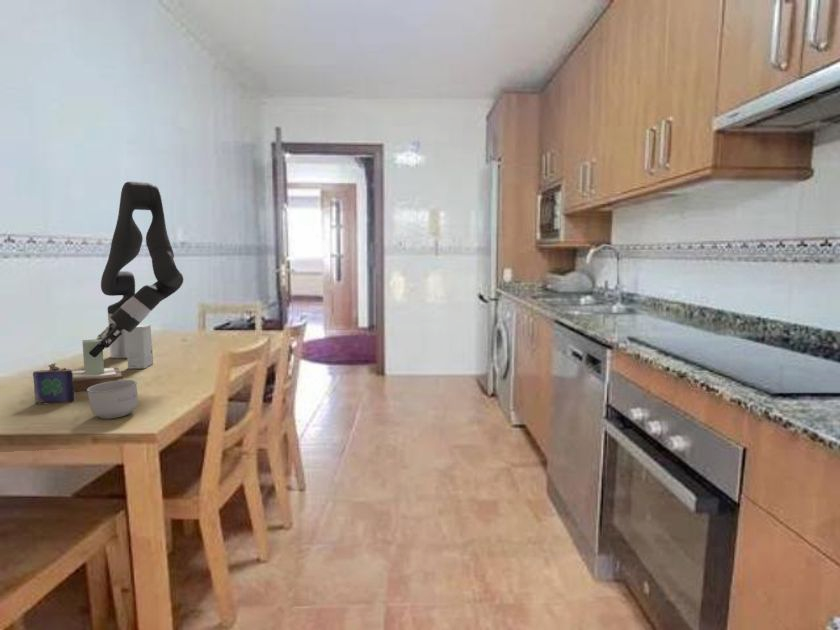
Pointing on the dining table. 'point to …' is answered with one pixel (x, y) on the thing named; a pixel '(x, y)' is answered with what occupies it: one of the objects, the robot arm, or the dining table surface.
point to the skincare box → (139, 347)
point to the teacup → (113, 398)
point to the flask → (53, 385)
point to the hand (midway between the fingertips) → (90, 353)
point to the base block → (94, 378)
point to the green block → (92, 358)
